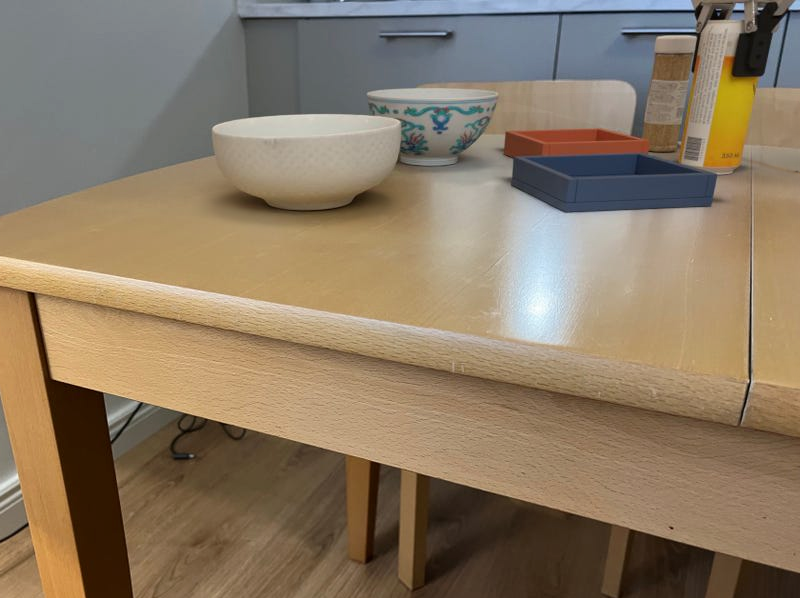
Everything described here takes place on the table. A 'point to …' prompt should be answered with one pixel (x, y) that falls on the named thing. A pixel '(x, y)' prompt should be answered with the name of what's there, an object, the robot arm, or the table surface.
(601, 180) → the blue tray
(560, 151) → the terracotta tray
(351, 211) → the table surface
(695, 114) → the beer can
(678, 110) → the sprinkles bottle
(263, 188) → the cereal bowl
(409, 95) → the chinaware
